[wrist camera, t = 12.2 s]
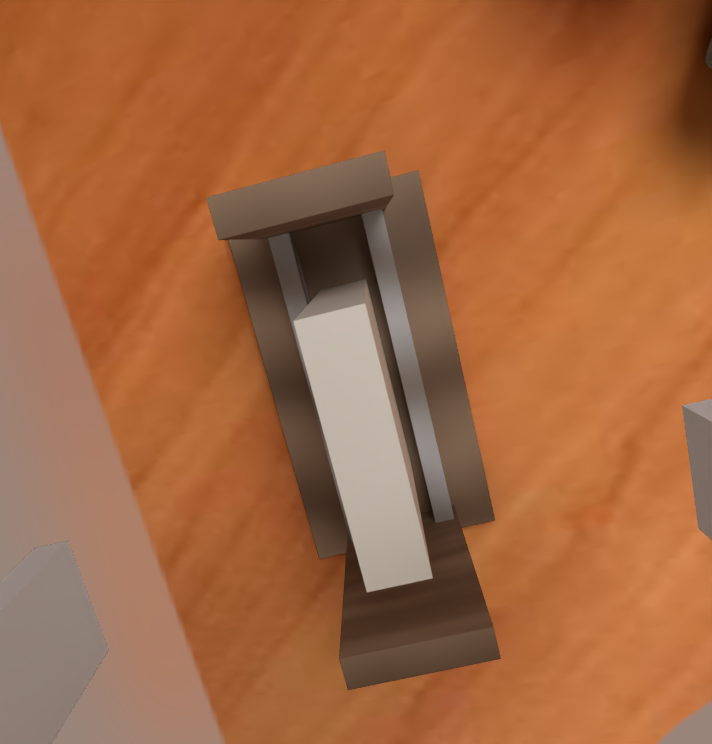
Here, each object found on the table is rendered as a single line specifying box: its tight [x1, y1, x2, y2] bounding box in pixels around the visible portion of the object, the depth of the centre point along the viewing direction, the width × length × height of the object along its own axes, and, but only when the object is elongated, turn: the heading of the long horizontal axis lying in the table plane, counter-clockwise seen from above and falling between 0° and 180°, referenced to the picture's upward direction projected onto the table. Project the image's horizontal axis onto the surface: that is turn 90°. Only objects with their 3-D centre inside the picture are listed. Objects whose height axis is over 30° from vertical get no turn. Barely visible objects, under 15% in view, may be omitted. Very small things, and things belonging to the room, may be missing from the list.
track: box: [206, 151, 501, 690], centre depth 28 cm, size 19×10×12 cm, turn 14°
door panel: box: [293, 279, 433, 592], centre depth 27 cm, size 10×2×12 cm, turn 14°
